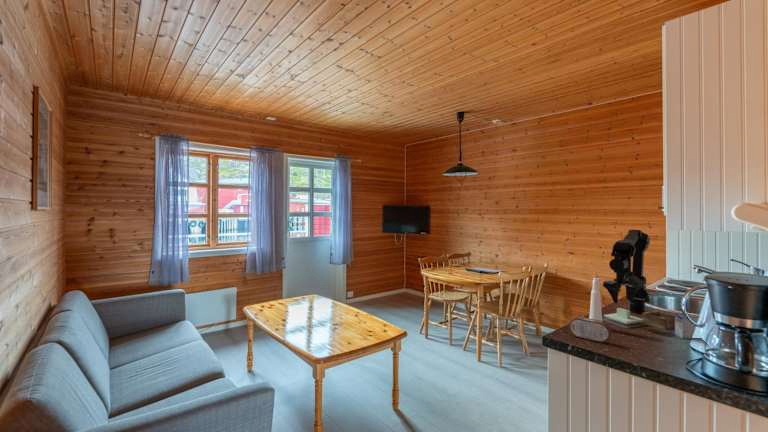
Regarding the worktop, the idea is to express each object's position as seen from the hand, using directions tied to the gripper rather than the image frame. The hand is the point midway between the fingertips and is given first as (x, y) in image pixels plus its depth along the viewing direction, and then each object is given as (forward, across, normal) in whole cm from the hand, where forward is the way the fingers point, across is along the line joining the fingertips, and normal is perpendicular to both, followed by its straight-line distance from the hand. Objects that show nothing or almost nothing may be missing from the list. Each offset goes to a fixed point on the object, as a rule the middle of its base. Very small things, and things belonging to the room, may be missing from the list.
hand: (623, 302), depth 161 cm
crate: (+9, +13, -8) cm, 18 cm away
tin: (+10, -33, -11) cm, 36 cm away
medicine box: (+10, +8, -22) cm, 25 cm away
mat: (+10, 0, 0) cm, 10 cm away
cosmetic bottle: (+10, -18, -1) cm, 20 cm away
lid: (+9, 0, 0) cm, 9 cm away
